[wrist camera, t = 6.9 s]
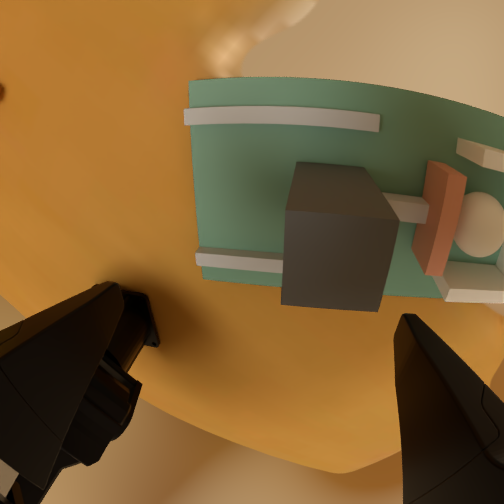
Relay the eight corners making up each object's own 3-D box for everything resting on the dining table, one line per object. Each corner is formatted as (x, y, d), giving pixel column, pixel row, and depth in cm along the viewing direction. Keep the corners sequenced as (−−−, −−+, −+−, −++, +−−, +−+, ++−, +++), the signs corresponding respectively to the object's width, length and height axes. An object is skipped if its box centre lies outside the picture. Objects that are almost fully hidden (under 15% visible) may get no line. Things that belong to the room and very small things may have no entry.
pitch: (490, 294, 19) (510, 327, 16) (206, 273, 23) (186, 308, 20) (533, 129, 13) (569, 142, 9) (193, 81, 16) (162, 79, 13)
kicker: (426, 250, 18) (470, 331, 11) (293, 238, 19) (279, 322, 13) (444, 163, 15) (516, 212, 8) (297, 144, 16) (285, 181, 10)
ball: (442, 257, 15) (444, 233, 18) (499, 276, 13) (492, 249, 16) (459, 192, 13) (456, 178, 16) (520, 213, 11) (507, 195, 14)
